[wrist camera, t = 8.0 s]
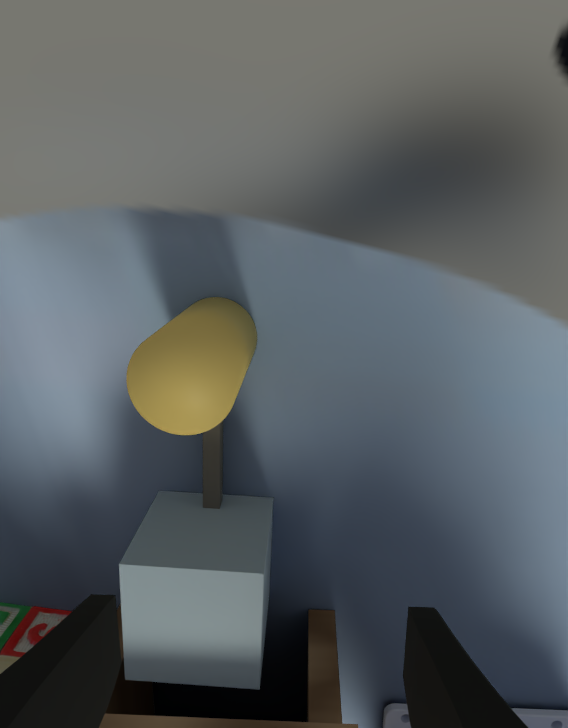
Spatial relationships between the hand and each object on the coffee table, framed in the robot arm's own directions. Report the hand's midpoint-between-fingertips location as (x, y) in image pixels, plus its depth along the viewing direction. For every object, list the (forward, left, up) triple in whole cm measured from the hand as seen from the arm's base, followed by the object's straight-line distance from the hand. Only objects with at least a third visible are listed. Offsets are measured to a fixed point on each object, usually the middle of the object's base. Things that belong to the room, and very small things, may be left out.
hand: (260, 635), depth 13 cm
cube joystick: (+3, 0, -10) cm, 10 cm away
